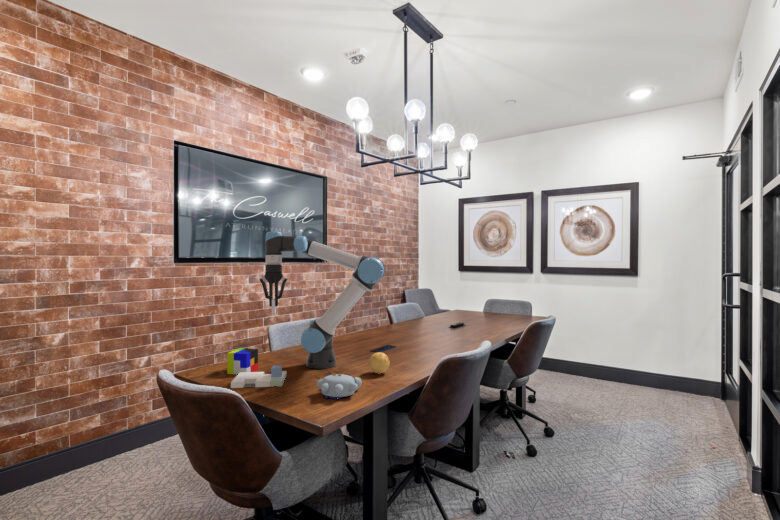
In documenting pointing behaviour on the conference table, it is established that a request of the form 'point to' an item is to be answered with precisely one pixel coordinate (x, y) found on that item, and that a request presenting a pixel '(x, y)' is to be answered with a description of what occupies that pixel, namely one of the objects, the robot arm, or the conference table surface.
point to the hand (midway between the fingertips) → (273, 313)
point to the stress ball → (379, 362)
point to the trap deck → (257, 380)
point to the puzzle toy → (242, 360)
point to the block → (276, 371)
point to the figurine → (338, 385)
